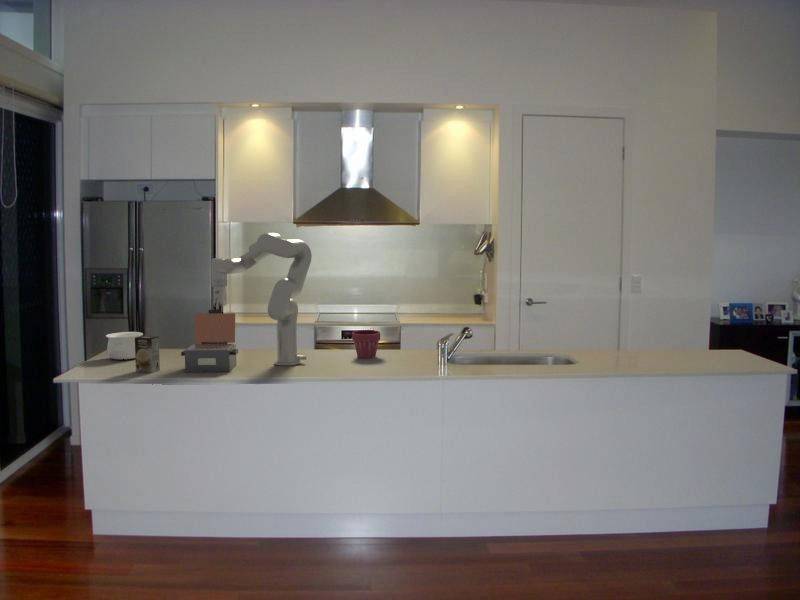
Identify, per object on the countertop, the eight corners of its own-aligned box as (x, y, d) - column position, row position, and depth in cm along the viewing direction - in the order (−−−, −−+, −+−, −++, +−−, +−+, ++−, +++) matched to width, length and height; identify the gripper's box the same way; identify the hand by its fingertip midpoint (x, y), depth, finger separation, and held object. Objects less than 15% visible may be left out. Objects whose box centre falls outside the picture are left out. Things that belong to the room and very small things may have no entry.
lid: (234, 343, 333) (235, 343, 335) (234, 309, 334) (235, 309, 337) (194, 344, 332) (195, 344, 335) (194, 309, 333) (196, 310, 336)
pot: (136, 362, 342) (135, 337, 341) (100, 363, 341) (99, 338, 340) (149, 354, 364) (148, 331, 363) (115, 354, 363) (113, 331, 361)
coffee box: (135, 372, 319) (133, 337, 317) (143, 369, 325) (142, 335, 323) (152, 373, 317) (150, 338, 315) (160, 370, 323) (159, 336, 321)
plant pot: (368, 360, 343) (367, 335, 341) (346, 357, 351) (346, 332, 350) (386, 356, 354) (386, 331, 353) (364, 353, 362) (364, 329, 361)
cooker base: (241, 364, 334) (240, 343, 333) (234, 372, 318) (234, 349, 317) (189, 365, 333) (188, 343, 332) (179, 372, 317) (178, 350, 316)
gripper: (223, 284, 337) (224, 322, 340) (230, 281, 352) (230, 318, 354) (208, 284, 337) (208, 322, 339) (215, 281, 352) (215, 317, 354)
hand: (219, 319), depth 347 cm, fingers closed
